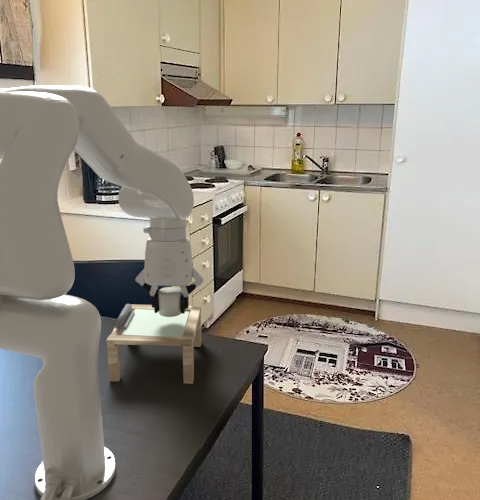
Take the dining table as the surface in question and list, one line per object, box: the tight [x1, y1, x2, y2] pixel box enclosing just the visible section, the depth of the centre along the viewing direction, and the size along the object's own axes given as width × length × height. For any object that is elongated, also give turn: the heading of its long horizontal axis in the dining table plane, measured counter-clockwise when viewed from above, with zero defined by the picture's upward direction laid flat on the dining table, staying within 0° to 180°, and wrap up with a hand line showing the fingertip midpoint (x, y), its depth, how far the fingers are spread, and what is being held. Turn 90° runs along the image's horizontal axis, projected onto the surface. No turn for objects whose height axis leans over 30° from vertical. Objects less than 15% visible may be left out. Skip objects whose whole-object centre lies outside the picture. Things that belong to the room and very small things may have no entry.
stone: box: [158, 286, 182, 317], centre depth 111 cm, size 5×5×5 cm
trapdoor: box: [114, 303, 190, 337], centre depth 113 cm, size 13×15×3 cm
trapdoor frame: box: [106, 303, 202, 385], centre depth 114 cm, size 18×18×10 cm
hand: (170, 310), depth 112 cm, fingers closed on stone, 5 cm apart
